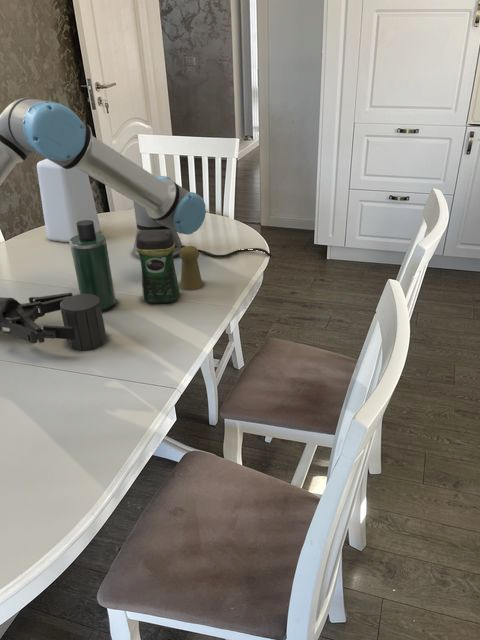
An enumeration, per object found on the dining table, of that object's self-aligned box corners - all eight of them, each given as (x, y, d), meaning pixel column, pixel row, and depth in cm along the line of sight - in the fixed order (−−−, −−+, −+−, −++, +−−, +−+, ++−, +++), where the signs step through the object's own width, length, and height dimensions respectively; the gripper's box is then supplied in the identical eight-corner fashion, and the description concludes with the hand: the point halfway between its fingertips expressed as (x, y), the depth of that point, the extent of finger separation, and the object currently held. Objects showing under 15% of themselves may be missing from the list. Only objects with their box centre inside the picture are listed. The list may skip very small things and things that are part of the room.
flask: (115, 296, 146) (102, 215, 134) (116, 310, 139) (103, 226, 127) (82, 300, 144) (66, 218, 132) (82, 314, 137) (65, 229, 125)
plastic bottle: (42, 240, 182) (22, 153, 168) (68, 226, 195) (52, 144, 180) (81, 245, 178) (65, 156, 164) (105, 230, 191) (92, 146, 176)
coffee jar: (180, 291, 148) (175, 224, 139) (178, 304, 142) (172, 235, 132) (145, 291, 148) (136, 225, 138) (140, 305, 141) (131, 236, 132)
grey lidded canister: (105, 329, 130) (99, 291, 125) (106, 347, 123) (99, 307, 118) (69, 334, 128) (60, 296, 123) (68, 352, 121) (59, 312, 116)
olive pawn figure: (206, 282, 153) (204, 245, 147) (195, 291, 148) (192, 253, 143) (187, 279, 155) (184, 242, 149) (176, 287, 151) (172, 249, 145)
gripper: (27, 303, 137) (108, 308, 135) (-30, 356, 116) (65, 362, 114) (20, 276, 133) (103, 280, 131) (-40, 325, 112) (58, 330, 110)
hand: (86, 318), depth 122 cm, fingers open, 13 cm apart
